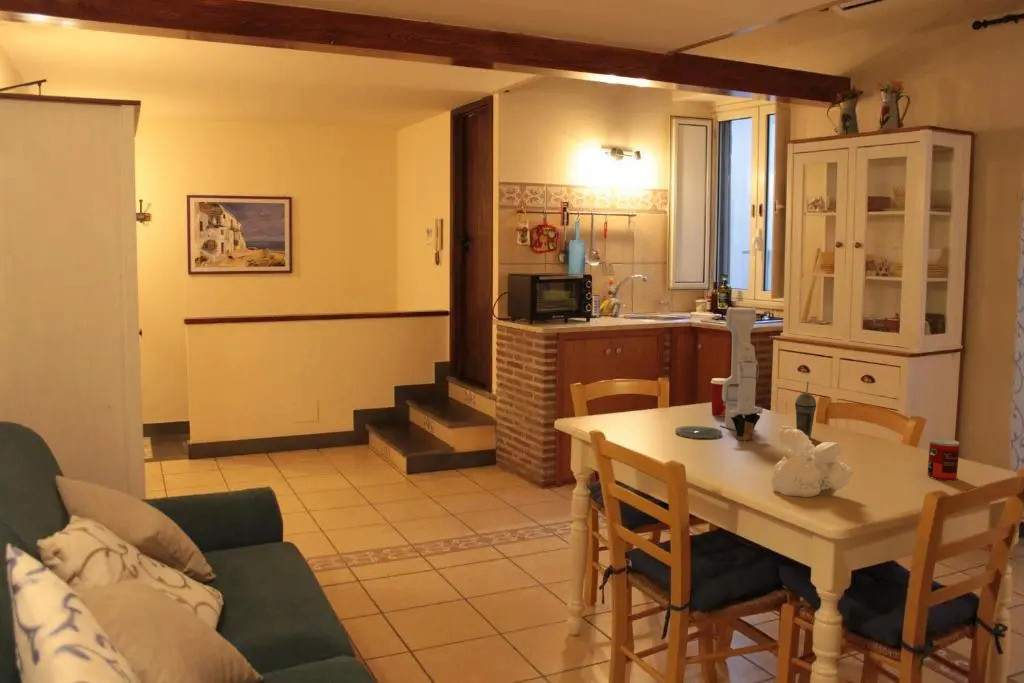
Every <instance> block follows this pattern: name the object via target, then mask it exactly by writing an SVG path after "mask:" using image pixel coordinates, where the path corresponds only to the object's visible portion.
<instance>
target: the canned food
mask: <svg viewBox="0 0 1024 683" xmlns="http://www.w3.org/2000/svg"><path fill="white" fill-rule="evenodd" d="M928 448H929V449H928V462H927V475H928V477H929V476H930V477H929V478H931V477H933V478H936V479H935V480H938V479H941V480H940V481H945V480H952V481H955V480H956V479H957V478H958V468H959V466H958V465H959V454H960V442H959V441H958V440H955V439H954V440H953V439H950V438H943V437H942V438H941V437H933V438H930V439H929V447H928ZM933 478H932V479H933Z"/></svg>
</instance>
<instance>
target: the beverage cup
mask: <svg viewBox="0 0 1024 683" xmlns="http://www.w3.org/2000/svg"><path fill="white" fill-rule="evenodd" d="M809 382H810V381H806V390H805V391H806V392H805V393H800V394H799V395H798V396H797V397H796V398H795V403H794V407H795V418H796V420H795V421H796V423H795V424H796V429H798V430H801V431H803V432H804V434H805V435H806V436H808V437H809V439H811V438H812V437H811V436H812V431H813V424H814V417H815V412H816V409H817V401H816V398H815V397H814V396H813V395H812V394H811V393H809Z"/></svg>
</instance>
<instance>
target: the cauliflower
mask: <svg viewBox="0 0 1024 683" xmlns="http://www.w3.org/2000/svg"><path fill="white" fill-rule="evenodd" d="M777 434H778V439H779V442H780V443H781V445H782V447H783V448H784V450H786V451H789V452H790V453H791V455H792V456H791V457H789V458H787V457H786V456H783V457H782V458H781V460H779V461H778V462H776V463H775V466H774V469H773V471H772V476H771V486H772V490H773V491H774V492H777V493H780V495H784V496H787V497H788V496H789V497H800V498H812V497H815V496H816V497H817V496H818V495H819V494H820V493H821V491H825V490H829V489H832V490H835V491H838V490H839V491H840V490H841V489H843V488H844V487H846V486H847V485H848V484H849V483H850V479H852V476H853V472H854V471H853V469H852V468H851V466H849V465H848V464H846V463H844V462H841V461H840V460H838V459H839V458H838V457H839V456H840V454H841V452H842V444H840V443H839V442H838V443H837V442H831V441H823V442H822V443H819V444H818V445H816V446H815V444H813V442H812V440H810V438H809V437H808V436H806V435H805V434H804V432H803V431H801V430H798V429H797V428H794V427H793V426H791V425H788V424H786V425H782V426H780V428H779V430H778V433H777Z"/></svg>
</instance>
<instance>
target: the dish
mask: <svg viewBox="0 0 1024 683" xmlns="http://www.w3.org/2000/svg"><path fill="white" fill-rule="evenodd" d="M675 432H676V433H677V434H678V435H677V434H676V433H675V434H676V435H677V436H679V435H681V436H680V437H682V436H686V437H685V438H687V437H692V438H691V439H694V438H715V439H718V438H717V437H719V438H721V437H722V435H723V431H722V430H721V429H718V428H716V427H710V426H703V425H683V426H682V425H681V426H679V427H676V428H675ZM720 436H721V437H720Z"/></svg>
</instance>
